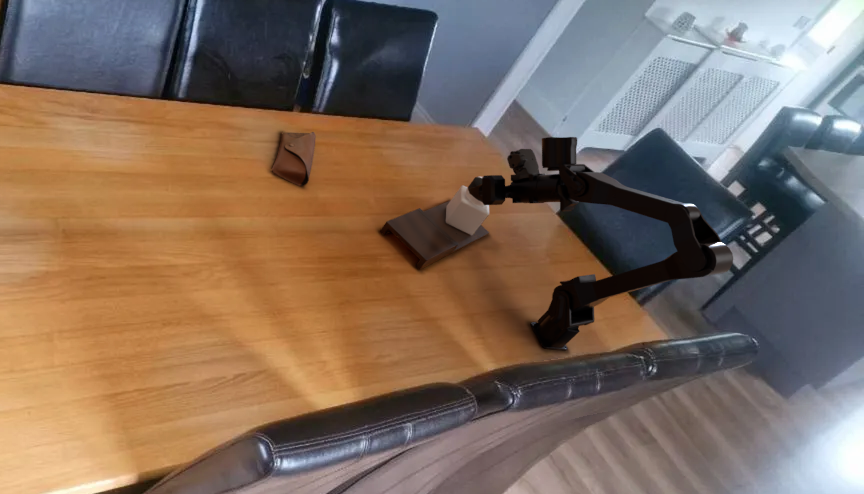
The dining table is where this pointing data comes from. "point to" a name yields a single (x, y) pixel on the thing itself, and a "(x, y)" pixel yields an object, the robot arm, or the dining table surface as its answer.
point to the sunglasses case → (295, 157)
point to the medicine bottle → (466, 209)
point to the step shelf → (430, 234)
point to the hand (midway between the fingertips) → (483, 190)
